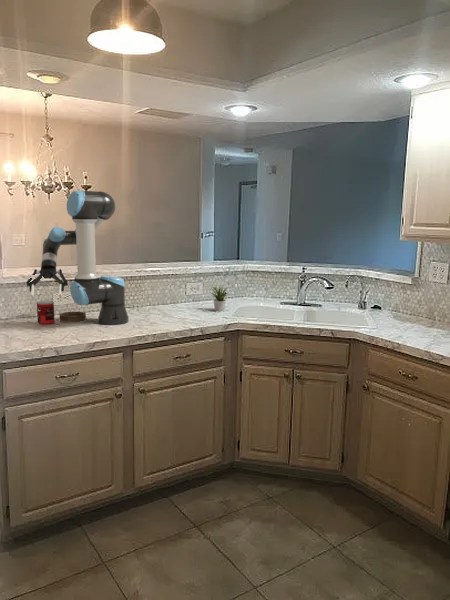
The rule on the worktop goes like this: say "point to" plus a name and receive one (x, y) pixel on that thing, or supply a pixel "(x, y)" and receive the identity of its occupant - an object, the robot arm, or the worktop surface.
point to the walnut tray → (72, 317)
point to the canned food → (45, 312)
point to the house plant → (219, 298)
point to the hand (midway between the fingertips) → (46, 296)
